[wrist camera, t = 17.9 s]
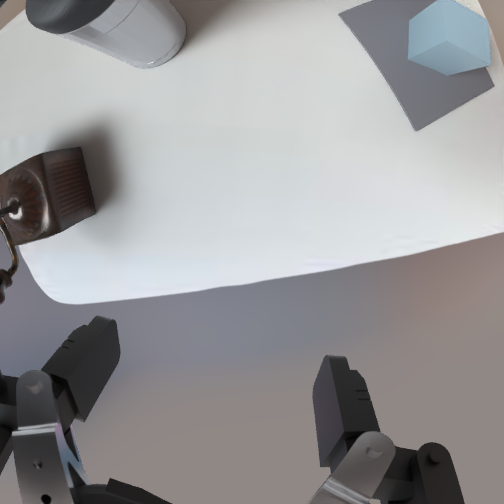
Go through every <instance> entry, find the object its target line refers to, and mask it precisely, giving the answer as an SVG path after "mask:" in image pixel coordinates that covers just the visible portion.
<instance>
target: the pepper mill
mask: <svg viewBox="0 0 504 504" xmlns="http://www.w3.org/2000/svg"><path fill="white" fill-rule="evenodd" d="M0 203H1V209H0V231H1V232H2V234H3V236H4V238H5V240H6V242H7V245H8V247H9V250H10V253H11V255H12V266H11V268H10V269H9V270H8V271H6V270H4V269H0V305H1V304H2V303H3V302H4V301H5V291H6V288H7V287H10V286H11V285H12V282H13V281H12V278H11V277H12V276H13V275H14V274H15V273H16V271H17V270H18V267H19V259H18V255H17V252H16V249H15V246H17V245H23V244H27V243H30V242H34V241H37V240H41V239H46V238H49V237H51V236H53V235H55V234H58V233H60V232H62V231H64V230H66V229H68V228H69V227H71V226H73V225H75V224H76V223H78V222H80V221H82V220H84V219H86V218H88V217H91V216H93V215H95V206H94V200H93V196H92V192H91V187H90V183H89V179H88V175H87V171H86V167H85V163H84V159H83V155H82V151H81V147H77V148H69V149H62V150H56V151H50V152H45V153H41V154H38V155H36V156H33V157H31V158H29V159H27V160H25V161H23V162H22V163H20V164H18V165H16V166H14V167H12V168H11V169H9V170H7V171H6V172H4V173H3V174H1V175H0ZM1 217H3V218H4V221H5V223H6V224H7V227H8V229H7V227H6V225H5V223H4V222H3V220H2V219H1ZM8 230H9V231H8Z"/></svg>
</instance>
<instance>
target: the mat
mask: <svg viewBox="0 0 504 504" xmlns="http://www.w3.org/2000/svg"><path fill="white" fill-rule="evenodd" d="M435 1H437V0H373V1H370V2H367V3H364V4H362V5H359V6H356V7H354V8H351V9H349V10H346V11H344V12H342V13H339V16H340V17H341V19H342V20H343V21H344V22H345V23H346V25H347V26H348V27H349V28H350V30H351V31H352V32H353V34H354V35H355V36H356V38H357V39H358V40H359V42H360V43H361V44H362V46H363V47H364V48H365V50H366V51H367V53H368V54H369V55H370V57H371V58H372V60H373V61H374V63H375V64H376V66H377V67H378V69H379V70H380V72H381V73H382V75H383V76H384V78H385V79H386V81H387V83H388V84H389V86H390V87H391V89H392V91H393V92H394V94H395V96H396V97H397V99H398V101H399V102H400V104H401V106H402V108H403V109H404V111H405V113H406V115H407V117H408V119H409V120H410V122H411V124H412V126H413V128H414V130H415V131H418V130H420V129H421V128H423V127H425V126H427V125H428V124H430V123H432V122H433V121H435V120H437V119H438V118H440V117H442V116H444V115H445V114H447V113H449V112H450V111H452V110H454V109H456V108H457V107H459V106H461V105H462V104H464V103H466V102H468V101H469V100H471V99H473V98H475V97H476V96H478V95H480V94H482V93H483V92H485V91H487V90H489V89H490V88H492V87H494V84H493V82H492V80H491V78H490V76H489V74H488V72H487V70H486V68H485V67H481V68H477V69H473V70H468V71H464V72H460V73H457V74H453V75H449V76H446V75H444V74H442V73H440V72H438V71H435V70H433V69H431V68H428V67H426V66H423V65H421V64H418V63H416V62H413V61H411V60H408V45H409V20H411V19H412V18H413V17H415V16H416V15H417V14H419V13H420V12H421V11H423V10H424V9H425V8H427V7H428V6H430V5H431V4H432V3H434V2H435Z"/></svg>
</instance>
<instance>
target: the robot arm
mask: <svg viewBox="0 0 504 504" xmlns="http://www.w3.org/2000/svg"><path fill="white" fill-rule="evenodd" d="M6 1H7V0H0V7H1V6H2V5H3V4H4V2H6ZM26 15H27V18H28V20H29V21H30V23H31V24H32V25H34V26H35V27H36V28H39V29H41V30H44V31H47V32H50V33H53V34H56V35H58V36H61V37H64V38H67V39H70V40H73V41H75V42H78V43H81V44H83V45H86V46H88V47H91V48H93V49H96V50H98V51H101V52H103V53H105V54H108V55H110V56H112V57H115V58H117V59H119V60H121V61H123V62H126V63H128V64H130V65H133V66H135V67H138V68H152V67H156V66H159V65H161V64H163V63H165V62H166V61H168V60H170V59H171V58H172V57H173V56H174V55H175V54H176V53H177V52H178V51H179V49H180V48H181V46H182V44H183V43H184V40H185V37H186V25H185V22H184V20H183V18H182V17H181V15H180V14H179V13H178V12H177V10H176V9H175V8H174V7H173V5H172V4H171V3H170V2H169V0H26ZM119 358H120V344H119V338H118V330H117V324H116V321H115V320H113V319H109V318H105V317H102V316H96V317H95V318H94V319H93V320H92V321H91V322H90V323H89V325H88V326H87V325H83V326H81V327H79V328H77V329H76V330H74V331H73V332H72V333H71V334H70V335H69V337H68V338H67V340H65V341H64V342H63V344H62V345H61V347H59V348H58V350H57V351H56V352H55V353H54V354H53V356H52V357H51V358H50V359H49V361H48V362H47V363H46V364H45V366H44V367H43V368H42V369H41V370H30V371H27V372H25V373H23V374H22V375H21V376H20V377H19V378H17V377H11V376H5V375H2V373H1V371H0V474H1V472H2V470H3V468H4V466H5V464H6V462H7V460H8V458H9V456H10V454H11V453H12V451H14V459H15V466H16V472H17V478H18V483H19V488H20V493H21V497H22V502H23V504H172V503H169V502H167V501H165V500H163V499H161V498H159V497H157V496H155V495H153V494H151V493H149V492H147V491H145V490H144V489H142V488H139V487H135V486H132V485H129V484H126V483H123V482H120V481H117V480H114V479H111V478H110V479H109V482H108V484H107V485H106V484H91V482H90V480H89V478H88V476H87V474H86V472H85V470H84V468H83V465H82V461H81V458H80V455H79V451H78V448H77V444H76V440H75V436H74V432H73V429H72V425H71V423H72V422H73V420H74V418H75V419H77V420H80V421H82V422H85V420H86V419H87V417H88V415H89V413H90V411H91V409H92V408H93V406H94V404H95V402H96V401H97V399H98V397H99V395H100V394H101V392H102V390H103V388H104V386H105V385H106V383H107V381H108V380H109V378H110V376H111V374H112V373H113V371H114V370H115V368H116V366H117V364H118V362H119ZM313 405H314V413H315V422H316V430H317V440H318V448H319V459H320V467H330V469H331V475H330V476H329V477H328V478H327V480H326V481H325V482H324V483H323V485H322V486H321V487H320V488H319V489H318V491H317V492H316V493H315V494H314V495H313V497H312V498H311V499H310V500H309V501H308V502H307V504H370V503H369V501H370V499H371V498H373V499H379V500H380V501H381V504H465V503H464V499H463V496H462V492H461V489H460V485H459V482H458V478H457V475H456V472H455V469H454V465H453V462H452V459H451V456H450V454H449V452H448V450H447V449H446V448H445V447H444V446H442V445H441V444H438V443H433V442H430V443H427V444H424V445H423V446H421V447H420V448H419V450H418V451H417V450H411V449H406V448H400V447H396V446H395V445H394V443H393V441H392V440H391V439H390V438H389V437H388V436H386V435H384V434H383V433H381V432H380V428H379V426H378V422H377V418H376V415H375V412H374V408H373V405H372V402H371V401H370V395H369V392H368V389H367V386H366V383H365V380H364V378H363V377H362V376H361V375H360V374H359V373H358V371H357V370H350V369H349V365H348V362H347V359H346V357H344V356H332V355H326V356H325V357H324V359H323V362H322V365H321V367H320V370H319V373H318V375H317V378H316V380H315V383H314V387H313Z"/></svg>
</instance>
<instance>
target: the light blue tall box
mask: <svg viewBox="0 0 504 504" xmlns="http://www.w3.org/2000/svg"><path fill="white" fill-rule="evenodd" d="M408 60H411V61H413V62H416V63H418V64H421V65H423V66H426V67H428V68H431V69H433V70H435V71H438V72H440V73H442V74H444V75H446V76H449V75H453V74H457V73H460V72H464V71H468V70H473V69H477V68H481V67H486V66H490V65H491V52H490V36H489V26H488V20H486V19H485V18H483V17H482V16H480V15H478V14H477V13H475V12H473V11H472V10H470V9H468V8H467V7H465V6H463V5H461V4H459V3H458V2H456V1H454V0H437V1H435V2H434V3H432V4H431V5H430V6H428V7H427V8H425V9H424V10H423V11H421V12H420V13H419V14H417V15H416V16H415V17H413V18H412V19H411V20H409V45H408Z"/></svg>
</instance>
